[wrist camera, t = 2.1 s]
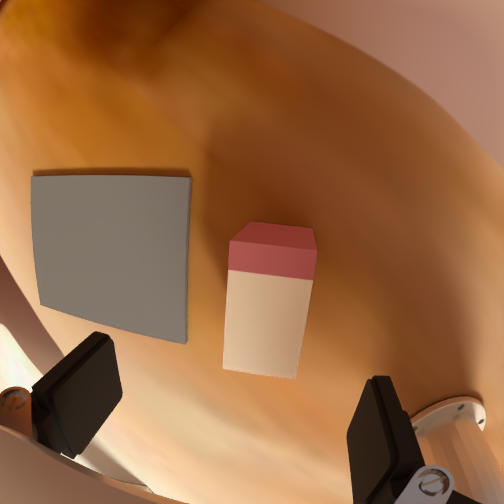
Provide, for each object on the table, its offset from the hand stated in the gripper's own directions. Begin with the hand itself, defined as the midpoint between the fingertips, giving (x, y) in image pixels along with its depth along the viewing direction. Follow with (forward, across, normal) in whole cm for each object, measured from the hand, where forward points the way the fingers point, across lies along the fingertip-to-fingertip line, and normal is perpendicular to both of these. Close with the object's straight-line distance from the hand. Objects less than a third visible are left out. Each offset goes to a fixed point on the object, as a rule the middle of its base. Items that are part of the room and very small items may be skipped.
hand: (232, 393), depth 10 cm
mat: (+14, +15, 0) cm, 21 cm away
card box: (+14, -1, 0) cm, 14 cm away
